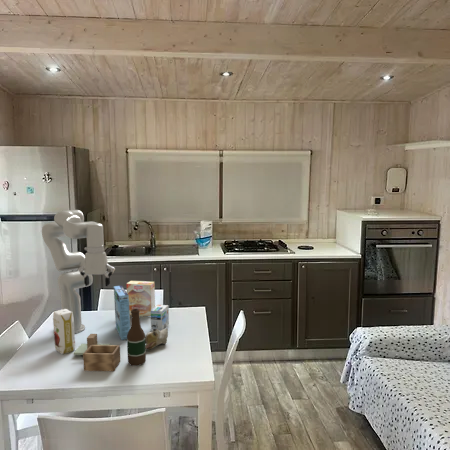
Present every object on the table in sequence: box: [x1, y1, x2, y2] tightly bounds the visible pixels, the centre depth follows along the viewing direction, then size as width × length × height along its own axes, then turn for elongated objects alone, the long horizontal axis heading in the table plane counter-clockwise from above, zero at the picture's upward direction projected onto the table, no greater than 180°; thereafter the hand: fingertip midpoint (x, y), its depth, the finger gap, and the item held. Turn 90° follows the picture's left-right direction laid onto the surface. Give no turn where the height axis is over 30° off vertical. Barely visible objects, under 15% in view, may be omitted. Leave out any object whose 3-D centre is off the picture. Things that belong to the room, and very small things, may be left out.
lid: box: [72, 333, 111, 356], centre depth 189 cm, size 14×10×8 cm
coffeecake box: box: [126, 280, 156, 317], centre depth 239 cm, size 15×7×20 cm, turn 81°
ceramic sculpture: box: [145, 327, 169, 350], centre depth 196 cm, size 11×9×15 cm
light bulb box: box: [150, 304, 170, 331], centre depth 220 cm, size 11×7×11 cm, turn 168°
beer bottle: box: [126, 309, 147, 367], centre depth 178 cm, size 8×8×24 cm
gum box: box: [113, 285, 131, 341], centre depth 211 cm, size 20×5×23 cm, turn 23°
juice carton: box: [52, 309, 76, 355], centre depth 191 cm, size 8×9×19 cm
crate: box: [82, 344, 121, 372], centre depth 176 cm, size 13×9×8 cm
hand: (97, 285), depth 192 cm, fingers open, 9 cm apart
